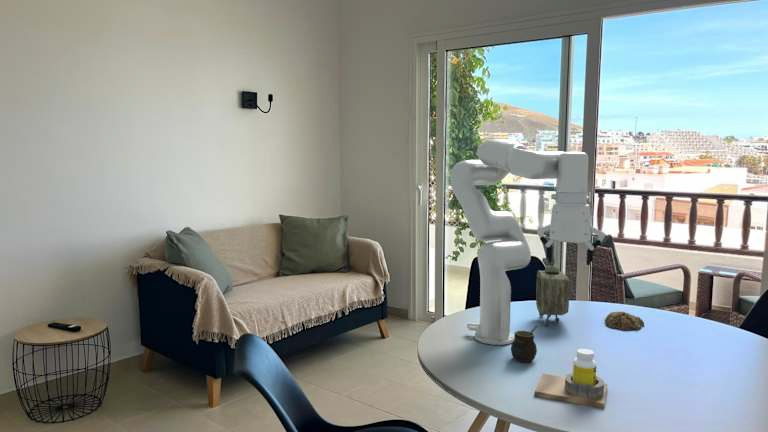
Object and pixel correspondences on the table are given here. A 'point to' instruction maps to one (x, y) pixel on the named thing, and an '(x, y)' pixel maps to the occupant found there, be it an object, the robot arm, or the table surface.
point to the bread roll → (624, 321)
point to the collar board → (561, 394)
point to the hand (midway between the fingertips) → (569, 262)
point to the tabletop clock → (552, 292)
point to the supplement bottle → (584, 368)
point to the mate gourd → (524, 346)
